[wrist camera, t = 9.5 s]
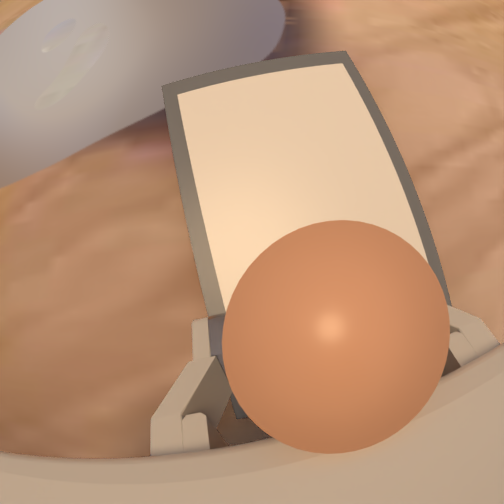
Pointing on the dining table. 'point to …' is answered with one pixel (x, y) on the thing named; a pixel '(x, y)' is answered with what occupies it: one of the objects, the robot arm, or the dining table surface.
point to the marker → (336, 337)
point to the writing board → (284, 164)
